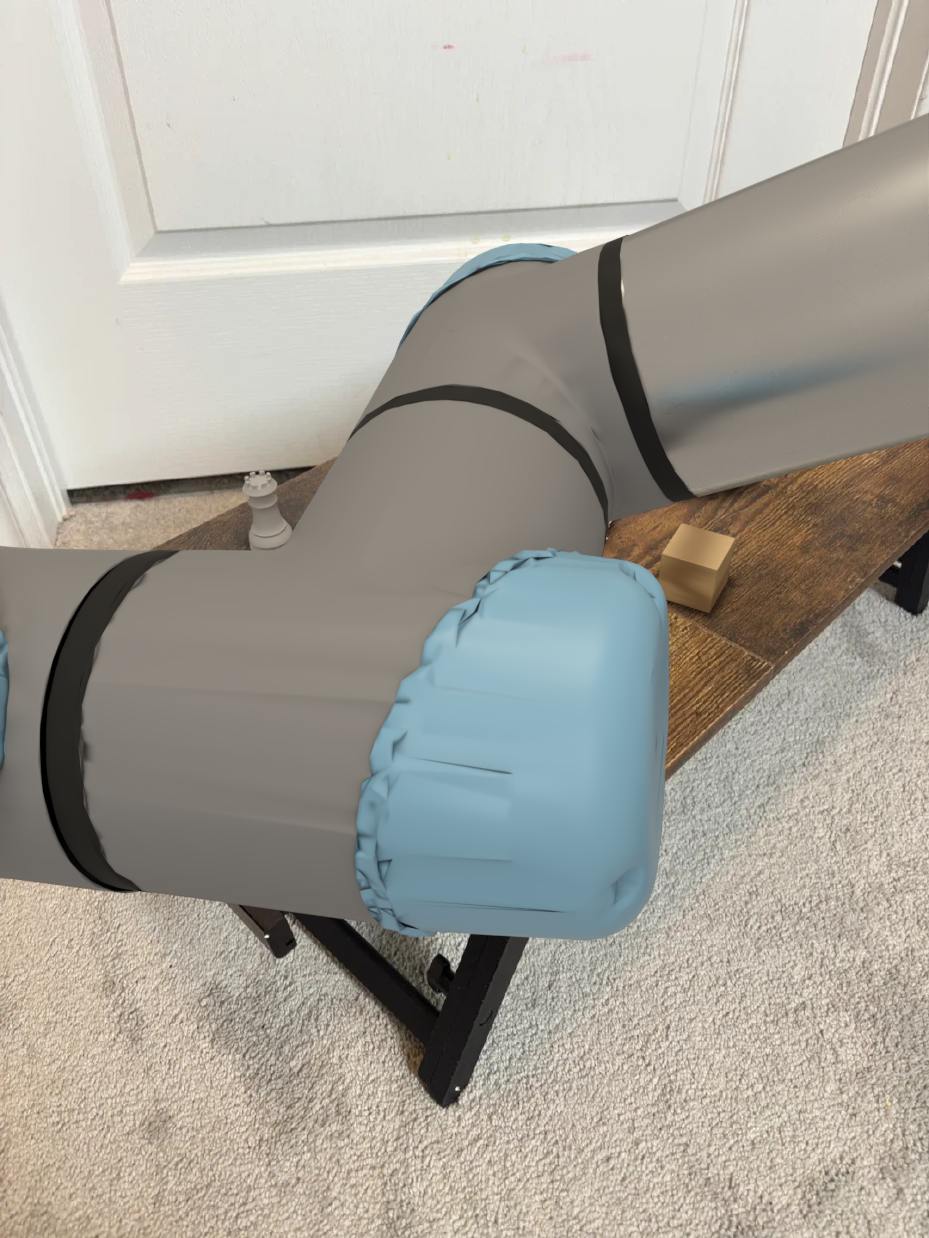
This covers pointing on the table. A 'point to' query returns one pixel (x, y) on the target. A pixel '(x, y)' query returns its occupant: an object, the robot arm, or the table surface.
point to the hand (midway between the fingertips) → (420, 691)
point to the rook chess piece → (265, 513)
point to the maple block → (695, 567)
